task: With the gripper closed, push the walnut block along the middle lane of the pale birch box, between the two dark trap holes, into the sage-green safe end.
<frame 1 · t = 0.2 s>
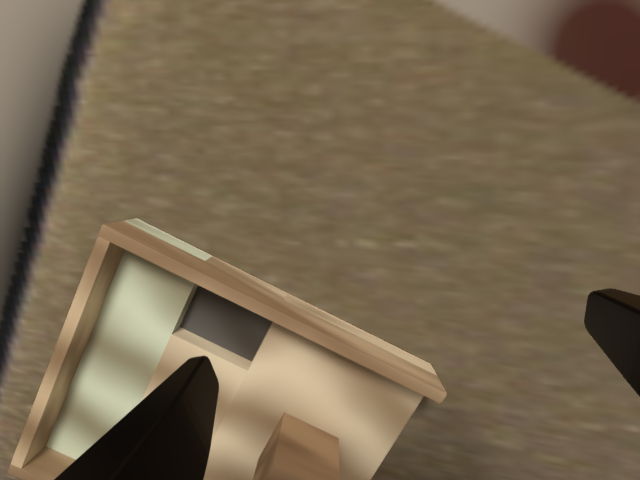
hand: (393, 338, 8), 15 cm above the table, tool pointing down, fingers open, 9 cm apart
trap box: (231, 400, 25), on the table
block: (298, 448, 24), point 1 cm above the table, touching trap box
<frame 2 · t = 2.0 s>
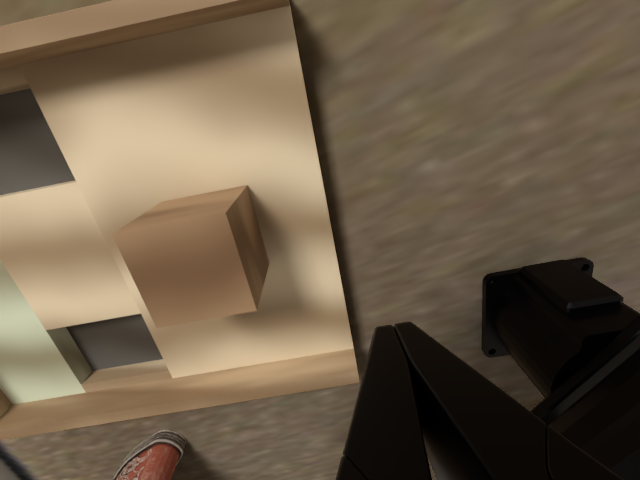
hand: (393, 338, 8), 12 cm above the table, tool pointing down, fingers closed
lighter: (152, 456, 27), on the table
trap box: (126, 242, 19), on the table
block: (218, 233, 17), point 1 cm above the table, touching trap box
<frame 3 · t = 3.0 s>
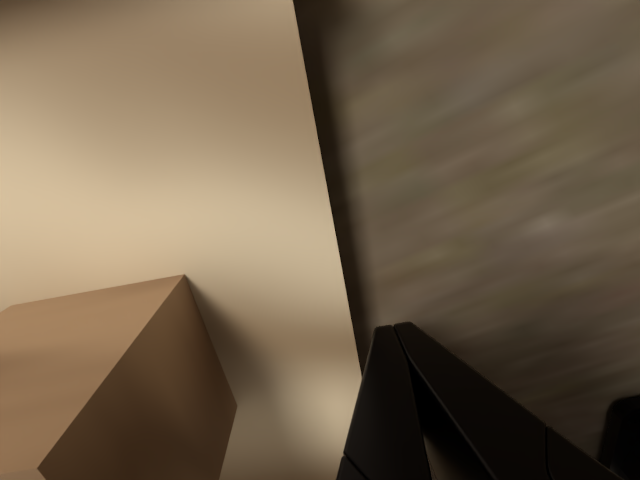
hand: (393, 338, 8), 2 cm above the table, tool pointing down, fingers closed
block: (133, 359, 9), point 1 cm above the table, touching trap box
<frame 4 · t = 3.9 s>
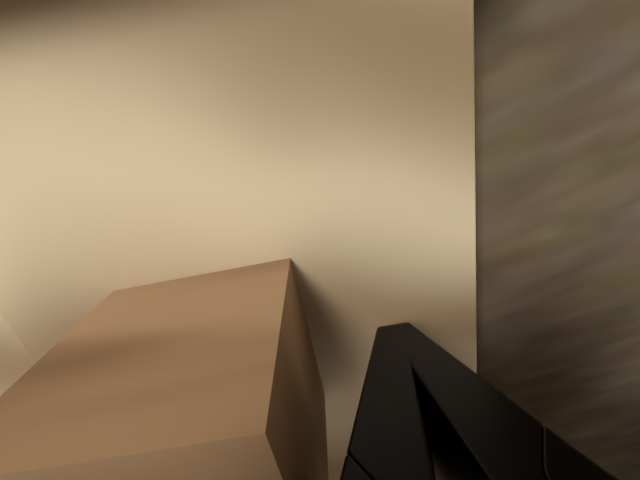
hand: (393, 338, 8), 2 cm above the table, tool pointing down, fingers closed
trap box: (80, 340, 10), on the table
block: (228, 346, 9), point 2 cm above the table, touching gripper
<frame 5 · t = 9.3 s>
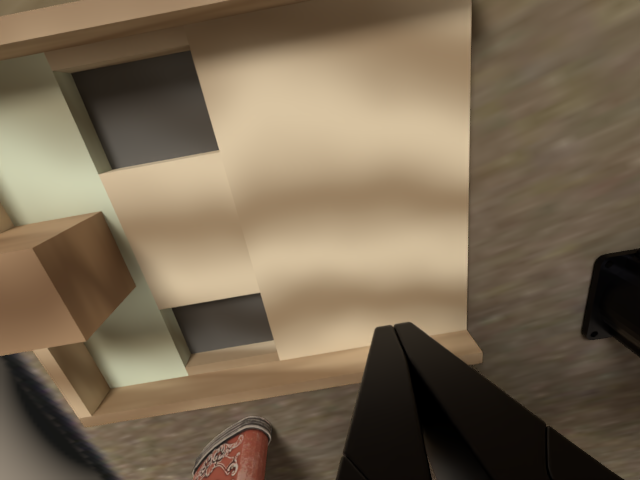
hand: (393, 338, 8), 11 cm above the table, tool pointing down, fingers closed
lighter: (233, 443, 26), on the table
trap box: (246, 219, 18), on the table
block: (78, 257, 17), point 1 cm above the table, touching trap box
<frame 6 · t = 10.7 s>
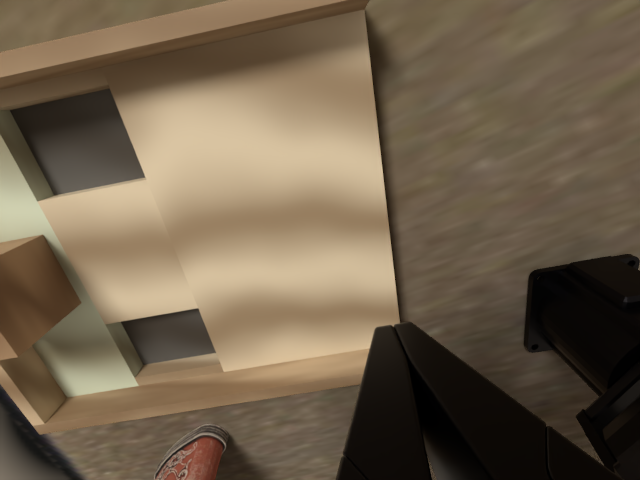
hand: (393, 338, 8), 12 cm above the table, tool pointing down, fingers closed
lighter: (193, 450, 27), on the table
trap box: (184, 239, 19), on the table
block: (26, 277, 19), point 1 cm above the table, touching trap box
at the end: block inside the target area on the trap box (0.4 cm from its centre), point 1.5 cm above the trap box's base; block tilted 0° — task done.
